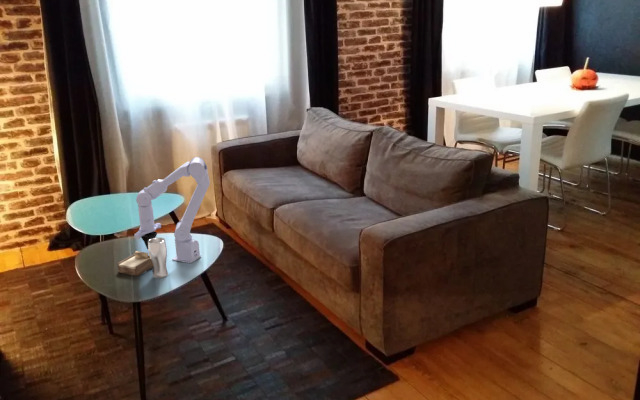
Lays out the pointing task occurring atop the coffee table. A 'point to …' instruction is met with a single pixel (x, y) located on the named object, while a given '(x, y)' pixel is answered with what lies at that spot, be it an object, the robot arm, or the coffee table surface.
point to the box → (139, 268)
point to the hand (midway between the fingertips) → (150, 249)
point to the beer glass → (158, 256)
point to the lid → (135, 260)
